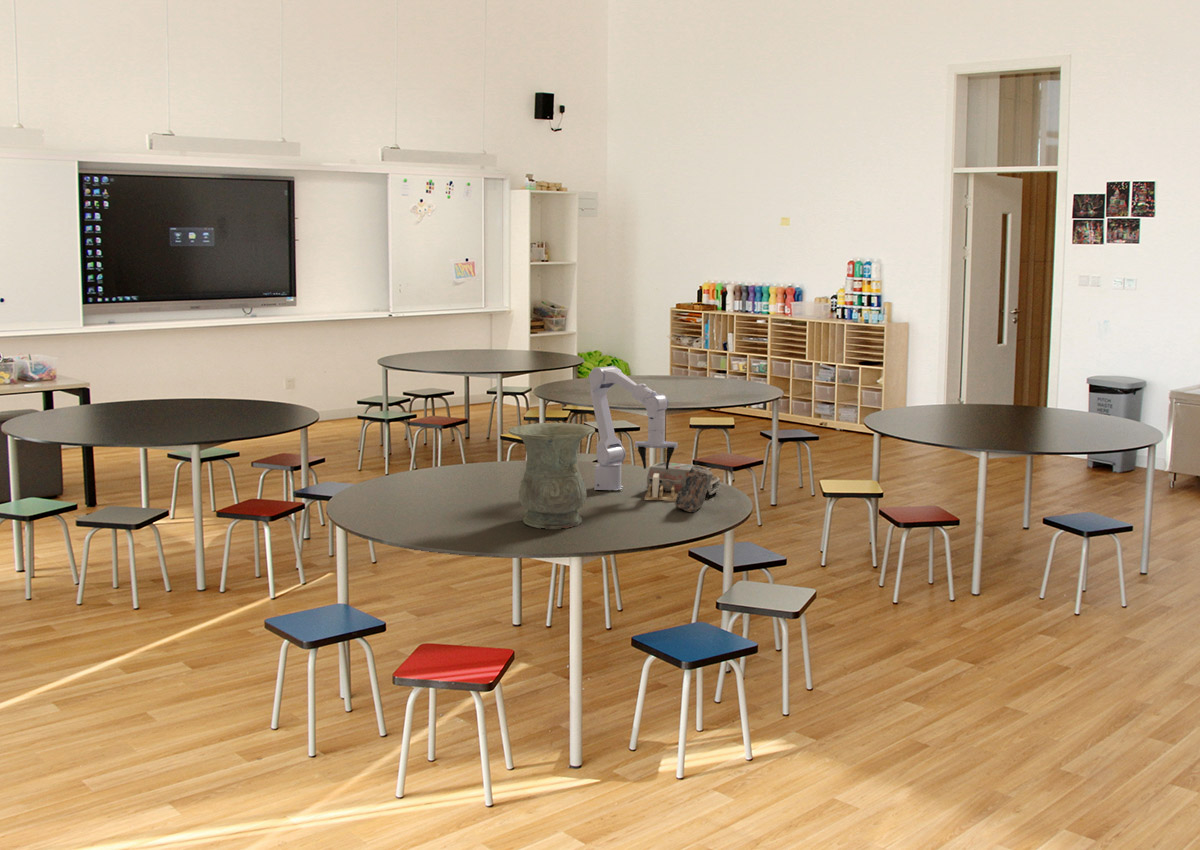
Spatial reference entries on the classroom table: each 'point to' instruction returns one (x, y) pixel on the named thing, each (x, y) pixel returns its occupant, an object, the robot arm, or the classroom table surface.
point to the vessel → (552, 474)
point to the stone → (694, 489)
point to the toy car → (677, 477)
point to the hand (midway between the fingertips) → (655, 468)
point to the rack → (662, 494)
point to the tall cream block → (655, 485)
